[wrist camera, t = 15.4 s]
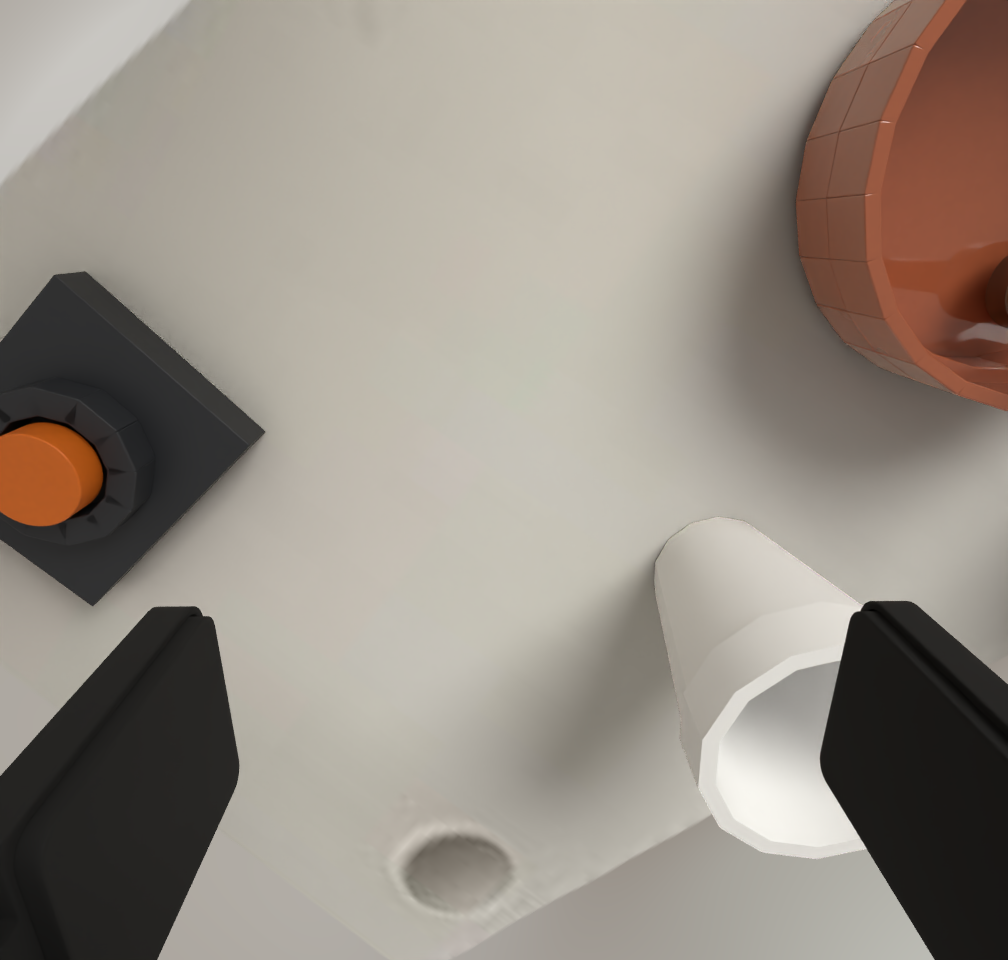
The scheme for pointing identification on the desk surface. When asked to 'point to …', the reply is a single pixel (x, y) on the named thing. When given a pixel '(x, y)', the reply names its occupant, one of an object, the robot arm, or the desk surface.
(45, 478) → the timer button
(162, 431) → the black flat block
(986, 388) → the bowl
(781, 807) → the foam cup
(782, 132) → the desk surface
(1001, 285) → the flanged wooden peg
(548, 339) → the desk surface
